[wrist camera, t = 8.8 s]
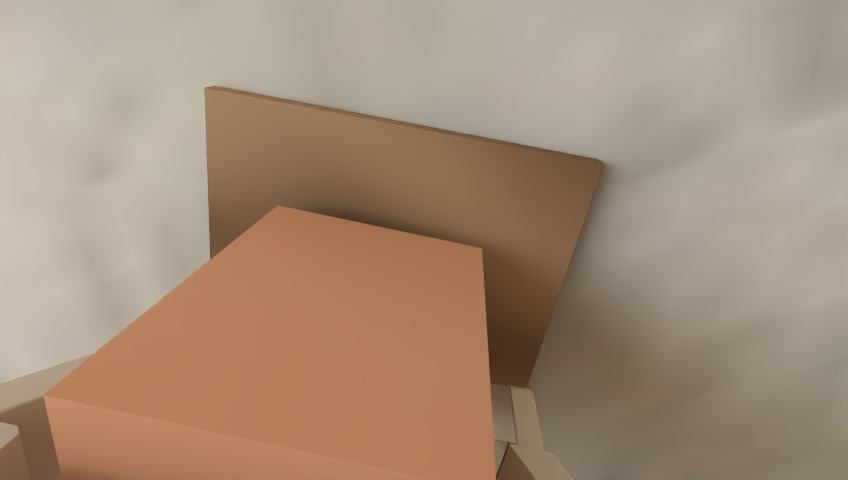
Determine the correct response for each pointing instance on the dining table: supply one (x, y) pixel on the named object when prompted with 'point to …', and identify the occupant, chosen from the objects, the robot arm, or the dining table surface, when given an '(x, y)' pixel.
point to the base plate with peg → (409, 198)
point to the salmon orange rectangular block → (294, 365)
